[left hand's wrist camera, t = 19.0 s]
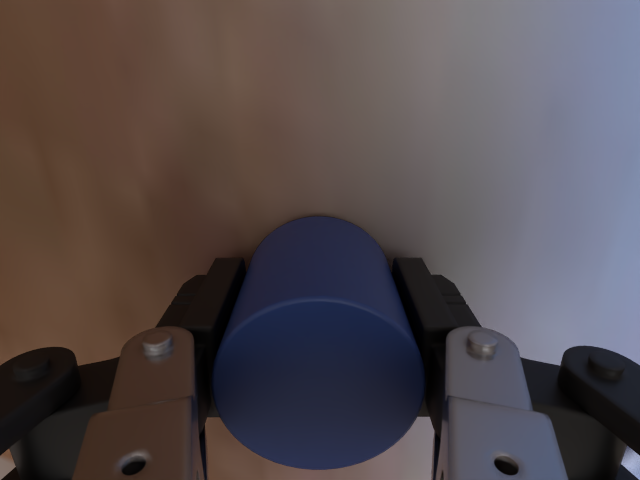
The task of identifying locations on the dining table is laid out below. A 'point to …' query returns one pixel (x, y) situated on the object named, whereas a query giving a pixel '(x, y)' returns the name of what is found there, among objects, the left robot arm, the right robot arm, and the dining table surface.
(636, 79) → the dining table surface
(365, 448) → the can
